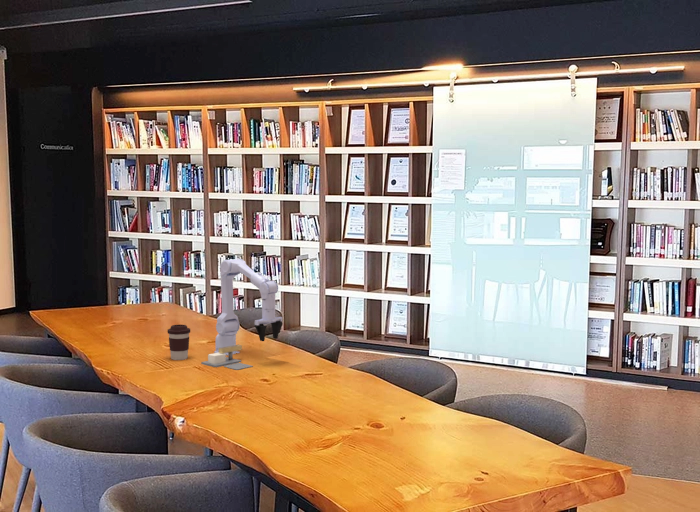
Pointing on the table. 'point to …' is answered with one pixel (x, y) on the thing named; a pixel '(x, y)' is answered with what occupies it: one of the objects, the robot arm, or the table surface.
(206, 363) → the panel
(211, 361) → the white rectangular block
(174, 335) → the coffee cup
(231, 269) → the robot arm
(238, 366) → the mat
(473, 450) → the table surface
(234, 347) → the tan rectangular bar
